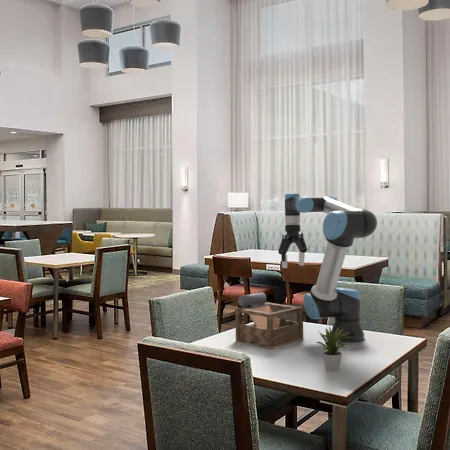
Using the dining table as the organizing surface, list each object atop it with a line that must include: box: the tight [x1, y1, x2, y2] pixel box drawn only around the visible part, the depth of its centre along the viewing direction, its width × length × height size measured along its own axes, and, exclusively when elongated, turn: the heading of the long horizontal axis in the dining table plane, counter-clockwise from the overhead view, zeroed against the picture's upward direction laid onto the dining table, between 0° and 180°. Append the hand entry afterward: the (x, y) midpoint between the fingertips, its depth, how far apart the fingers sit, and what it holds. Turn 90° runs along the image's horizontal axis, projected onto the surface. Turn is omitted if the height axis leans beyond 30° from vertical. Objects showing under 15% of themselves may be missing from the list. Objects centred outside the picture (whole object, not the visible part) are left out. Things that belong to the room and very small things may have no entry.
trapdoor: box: [237, 291, 279, 329], centre depth 261 cm, size 22×15×5 cm
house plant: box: [315, 326, 352, 372], centre depth 209 cm, size 14×14×16 cm
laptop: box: [271, 303, 303, 322], centre depth 284 cm, size 18×12×13 cm
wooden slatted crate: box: [234, 301, 304, 350], centre depth 257 cm, size 22×22×15 cm
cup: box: [278, 318, 294, 328], centre depth 256 cm, size 8×7×8 cm
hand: (293, 266), depth 279 cm, fingers open, 13 cm apart
